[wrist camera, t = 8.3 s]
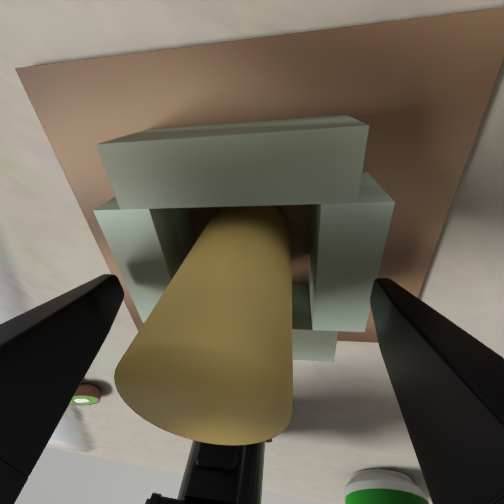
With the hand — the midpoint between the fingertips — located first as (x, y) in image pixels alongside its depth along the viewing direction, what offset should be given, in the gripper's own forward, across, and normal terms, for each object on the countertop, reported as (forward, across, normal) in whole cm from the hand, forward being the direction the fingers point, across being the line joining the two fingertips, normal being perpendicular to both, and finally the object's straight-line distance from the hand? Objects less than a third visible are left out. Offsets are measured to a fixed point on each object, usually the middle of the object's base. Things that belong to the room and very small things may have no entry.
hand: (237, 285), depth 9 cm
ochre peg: (+4, 0, 0) cm, 4 cm away
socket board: (+4, 0, 0) cm, 4 cm away
